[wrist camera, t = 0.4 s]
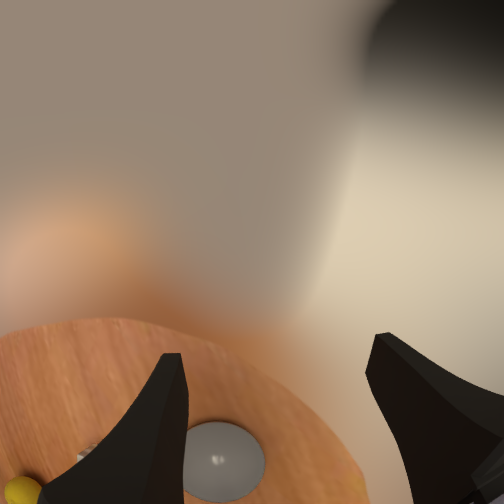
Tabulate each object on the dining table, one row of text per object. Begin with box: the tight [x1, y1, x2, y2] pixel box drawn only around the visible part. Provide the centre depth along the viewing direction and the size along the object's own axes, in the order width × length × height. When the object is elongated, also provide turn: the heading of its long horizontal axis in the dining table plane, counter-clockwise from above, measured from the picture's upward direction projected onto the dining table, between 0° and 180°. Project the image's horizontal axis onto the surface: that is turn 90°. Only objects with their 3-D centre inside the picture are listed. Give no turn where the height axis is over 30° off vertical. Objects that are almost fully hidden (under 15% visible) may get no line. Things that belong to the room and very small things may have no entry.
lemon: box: [4, 476, 42, 504], centre depth 23 cm, size 6×6×8 cm
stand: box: [183, 421, 265, 503], centre depth 32 cm, size 11×11×2 cm
